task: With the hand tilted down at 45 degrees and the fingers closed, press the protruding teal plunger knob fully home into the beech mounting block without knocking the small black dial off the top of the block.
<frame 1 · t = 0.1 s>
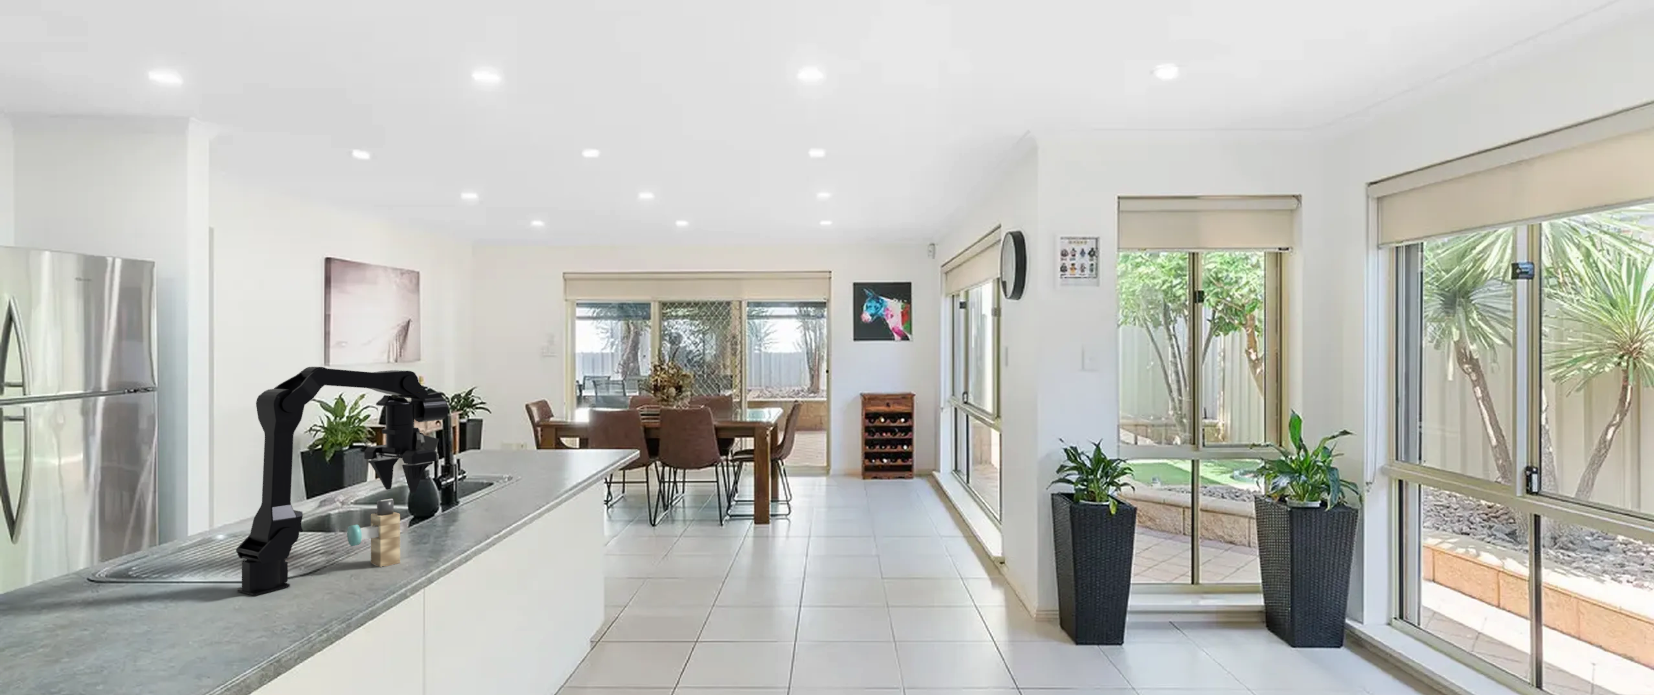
hand: (400, 491, 173), 15 cm above the countertop, tool pointing down, fingers open, 9 cm apart
mount: (385, 563, 166), on the countertop
knob: (366, 533, 163), point 8 cm above the countertop, slide at 3.5 cm
onion: (275, 561, 168), on the countertop
dial: (385, 513, 166), point 11 cm above the countertop, touching mount
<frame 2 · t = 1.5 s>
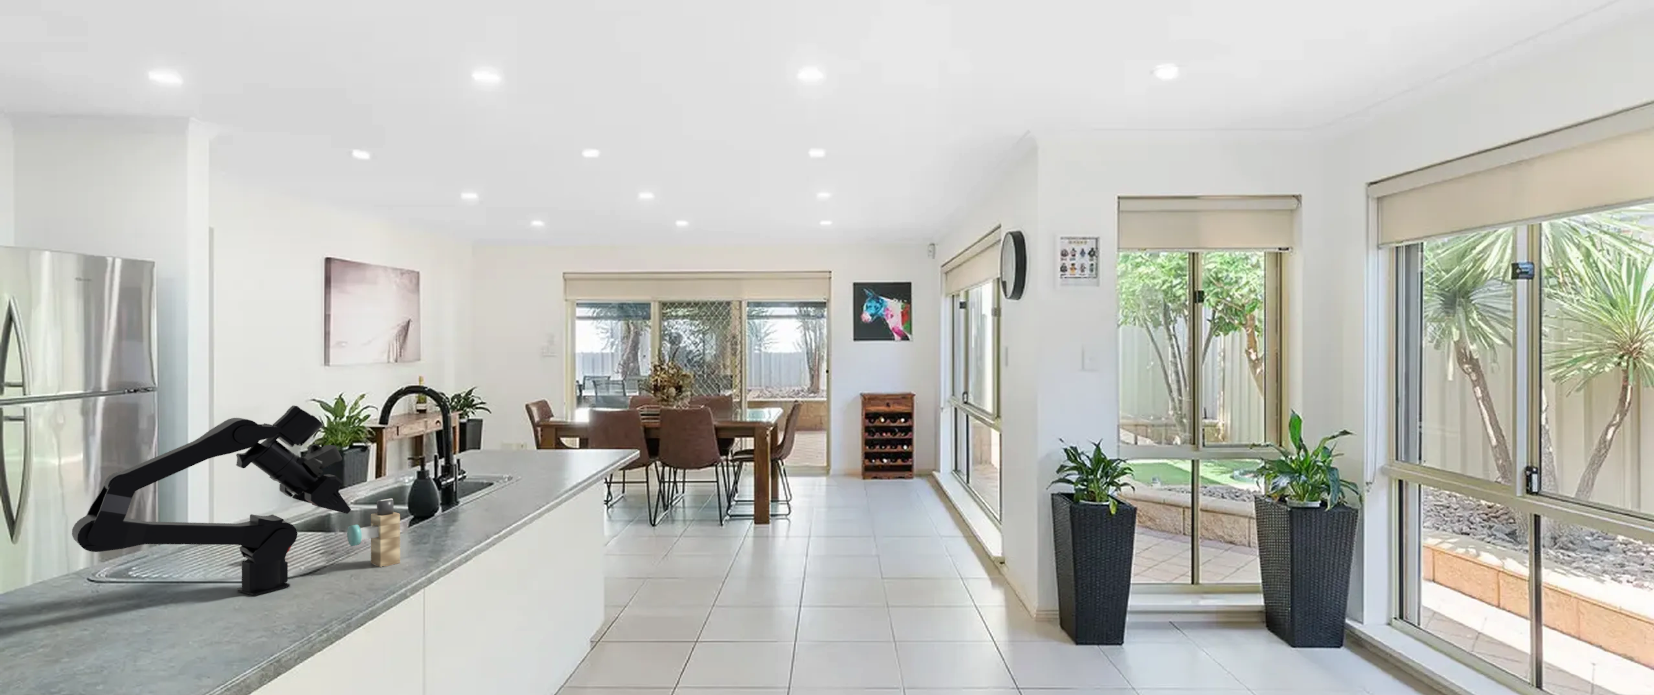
hand: (342, 509, 159), 13 cm above the countertop, tool tilted 45°, fingers open, 7 cm apart
nothing on the countertop moved.
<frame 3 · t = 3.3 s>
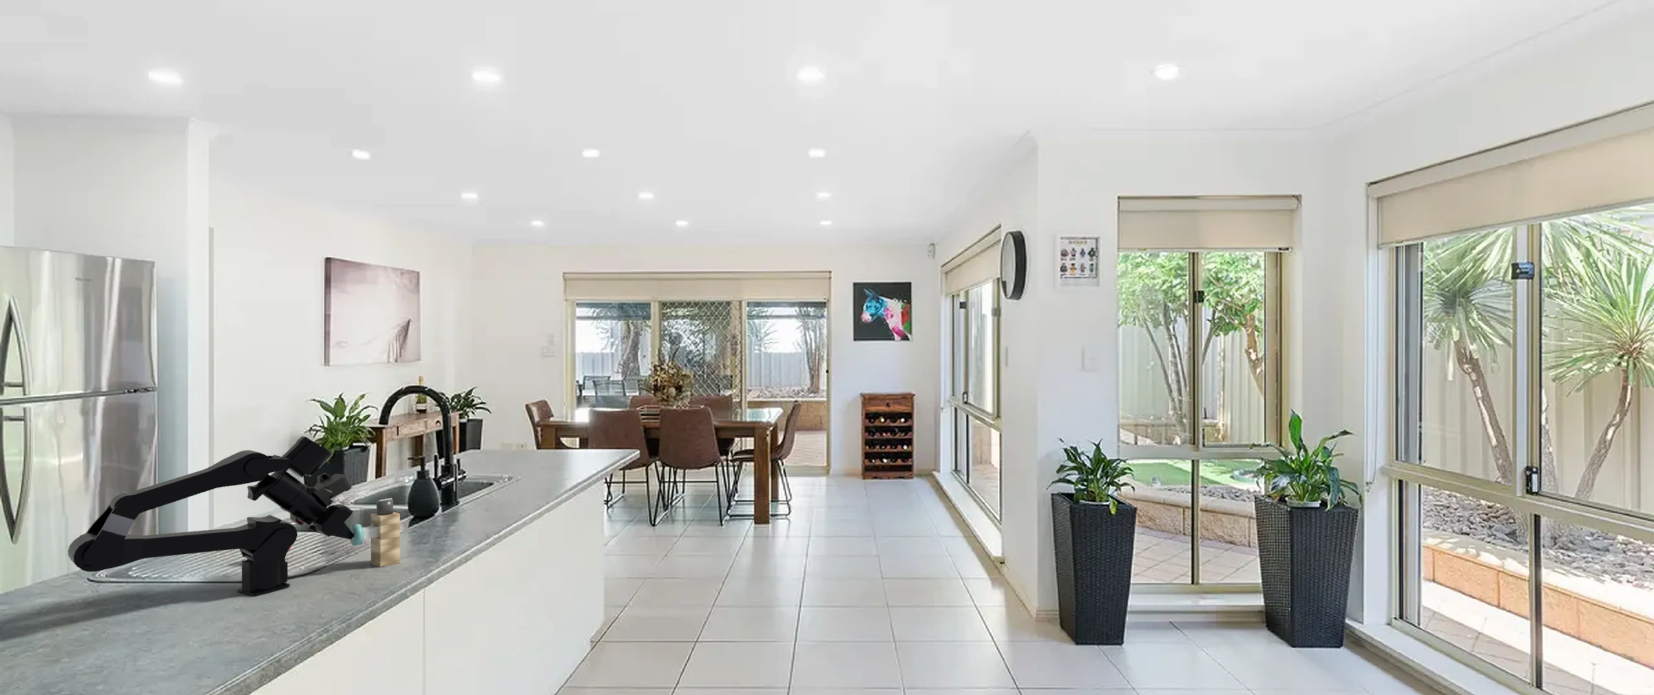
hand: (352, 537, 161), 7 cm above the countertop, tool tilted 45°, fingers closed, pressing on knob
knob: (368, 532, 163), point 8 cm above the countertop, slide at 3.0 cm, touching gripper
everything else where it was.
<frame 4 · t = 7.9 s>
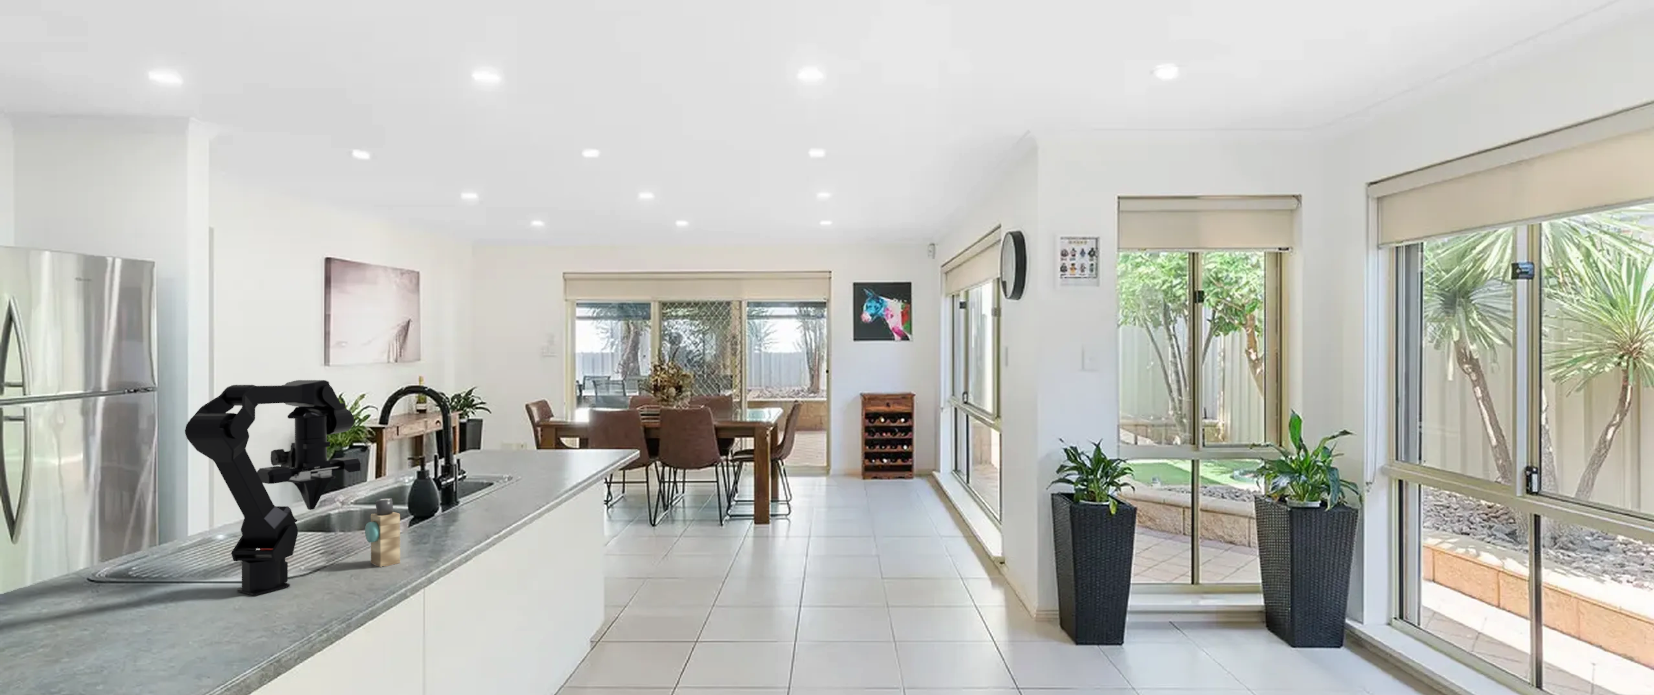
hand: (311, 509, 161), 13 cm above the countertop, tool pointing down, fingers closed
knob: (383, 529, 166), point 8 cm above the countertop, slide at 0.0 cm
everything else where it was.
at the end: knob slide at 0.0 cm; dial moved 0.2 cm from its start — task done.
